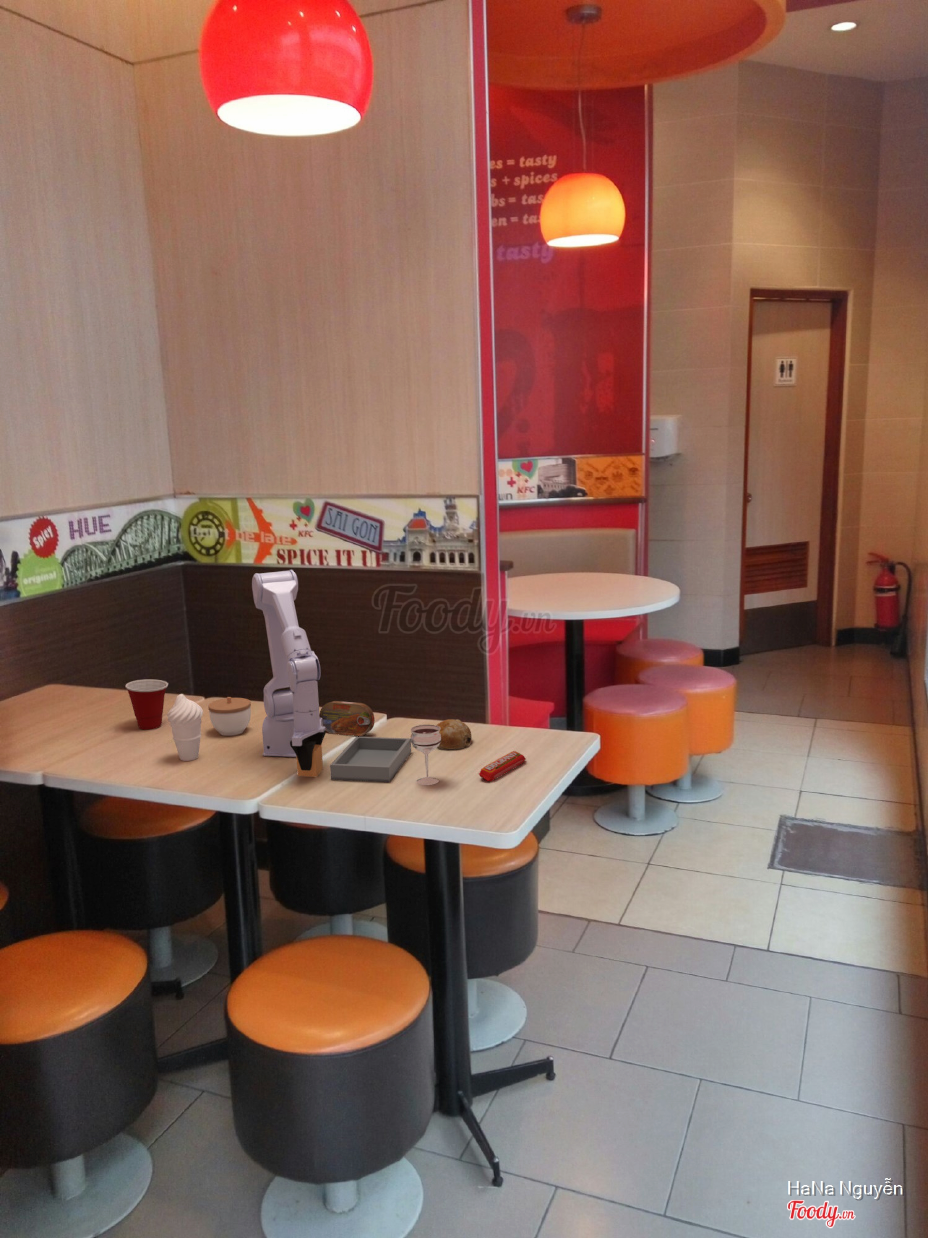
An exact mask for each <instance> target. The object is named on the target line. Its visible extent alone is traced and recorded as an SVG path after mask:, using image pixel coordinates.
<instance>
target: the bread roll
mask: <svg viewBox="0 0 928 1238" xmlns="http://www.w3.org/2000/svg"><path fill="white" fill-rule="evenodd" d="M435 725H436V726H439V727H440V728H441V729H440V731H439V733H440V734H441V742H440V745H439V746H438V747H437V748H436V749H440V750H444V751H445V750H446V751H450V750H453V751H454V750H461V749H464V748H469V747H470V745H471V741H472V731H471V728H470V727H469V726H468V725H467V724H466V723H465V722H463V721H461V720H460V719H451V718H448V719H445V720H443V721H440V722H438V723H437V724H435Z"/></svg>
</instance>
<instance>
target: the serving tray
mask: <svg viewBox="0 0 928 1238" xmlns="http://www.w3.org/2000/svg"><path fill="white" fill-rule="evenodd" d="M354 737H355V738H354V739H352V741H351V742H350V743H349V744H348V745H347V746H346V747H345V748H344V749H343V750H342V751H341V752H340V753H339V755H338V756H337V757H336V758H334V760H333V761H332V762H331V763H330V765H329V769H330V780H331V781H352V782H373V783H374V782H376V783H391V781H392V780H393V778H394V777H395V775H396V774H397V773H398V771H399V770H400V769H401V767H403V765H404V764H405V762H406V761H407V759H408V758H409V756H410V755H411V754H412V743H411V740H410V738H411V737H410V738H409V737H408V738H407V737H406V738H405V737H383V736H382V737H381V736H380V737H378V736H359V737H358V736H354Z"/></svg>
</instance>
